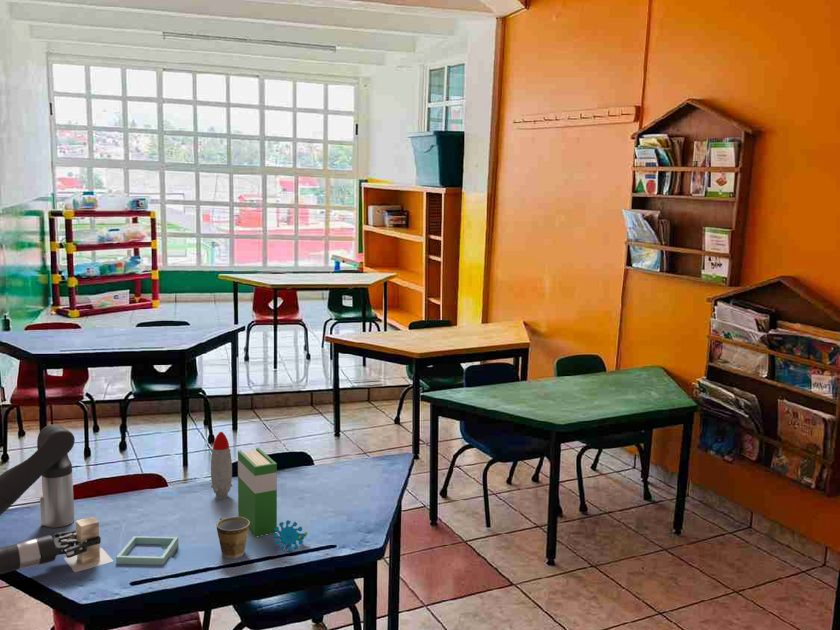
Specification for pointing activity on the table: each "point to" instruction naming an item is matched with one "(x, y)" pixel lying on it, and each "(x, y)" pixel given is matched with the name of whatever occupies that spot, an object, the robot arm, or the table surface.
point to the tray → (165, 543)
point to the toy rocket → (221, 466)
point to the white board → (77, 566)
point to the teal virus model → (289, 535)
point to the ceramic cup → (233, 536)
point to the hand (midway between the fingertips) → (96, 536)
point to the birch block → (85, 531)
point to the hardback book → (257, 491)
